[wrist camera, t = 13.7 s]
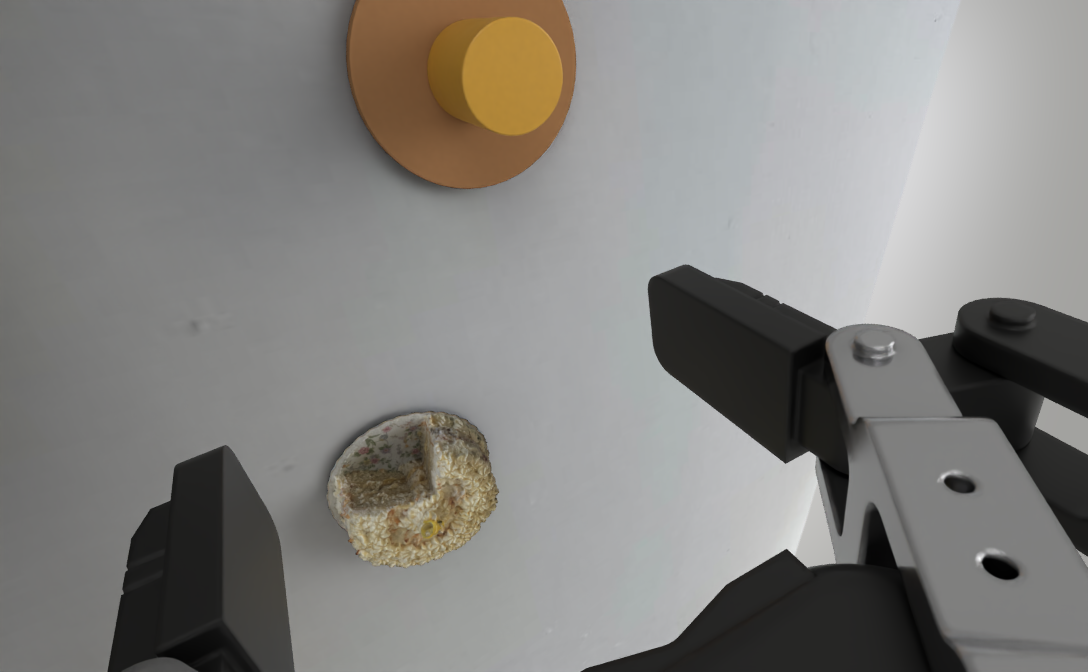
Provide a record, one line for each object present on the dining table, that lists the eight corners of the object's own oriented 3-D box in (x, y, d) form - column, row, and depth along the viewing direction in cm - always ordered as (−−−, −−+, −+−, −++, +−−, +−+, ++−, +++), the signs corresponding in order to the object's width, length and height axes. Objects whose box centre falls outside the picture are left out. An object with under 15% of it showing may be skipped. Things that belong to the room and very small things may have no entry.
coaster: (293, 79, 26) (295, 80, 25) (449, -136, 25) (455, -140, 25) (479, 227, 32) (484, 231, 32) (607, 60, 32) (615, 60, 31)
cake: (512, 455, 41) (550, 509, 37) (401, 556, 40) (426, 623, 36) (420, 376, 34) (452, 432, 30) (286, 496, 34) (301, 569, 30)
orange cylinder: (407, 76, 27) (438, 84, 23) (467, -5, 27) (510, -11, 23) (478, 141, 30) (518, 158, 26) (533, 68, 29) (583, 74, 25)
